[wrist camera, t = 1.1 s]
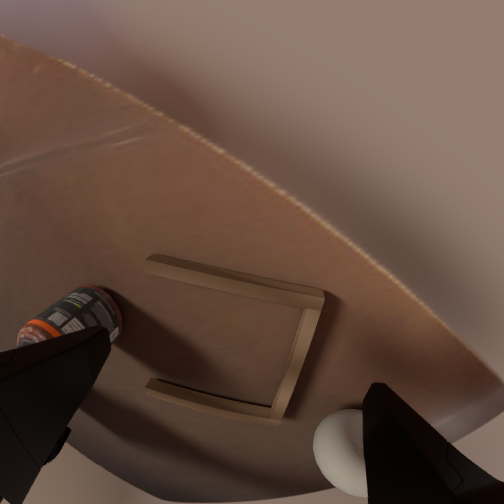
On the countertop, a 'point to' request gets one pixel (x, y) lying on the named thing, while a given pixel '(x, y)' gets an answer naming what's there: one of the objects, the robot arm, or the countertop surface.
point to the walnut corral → (255, 289)
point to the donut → (342, 451)
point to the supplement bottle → (74, 316)
